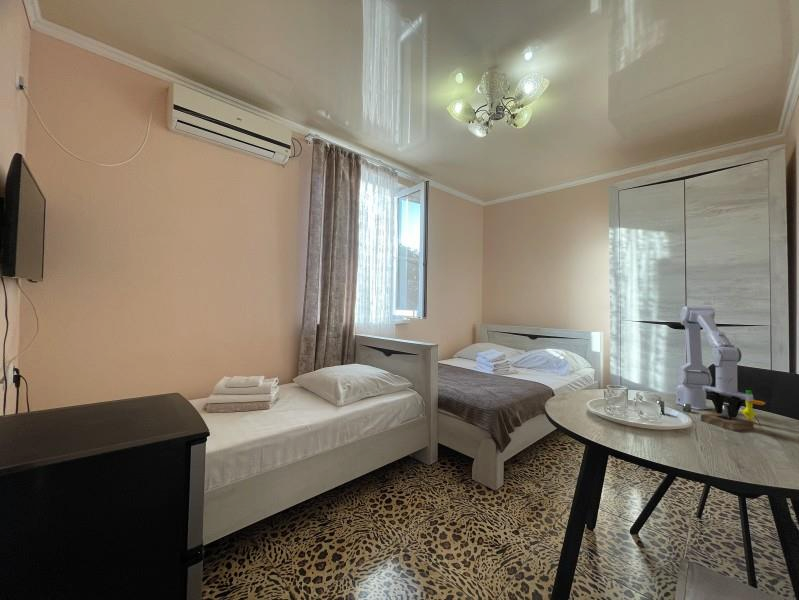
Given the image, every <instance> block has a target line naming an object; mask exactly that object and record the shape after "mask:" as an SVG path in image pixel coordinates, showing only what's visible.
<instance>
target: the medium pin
mask: <svg viewBox="0 0 799 600" xmlns="http://www.w3.org/2000/svg"><path fill="white" fill-rule="evenodd" d="M655 401H656V402H657V403H658V404H660V407H661V412H662V414H661V415H665V401H664V400H659V399H656V400H655ZM656 402H655V403H656Z"/></svg>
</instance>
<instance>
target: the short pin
mask: <svg viewBox="0 0 799 600" xmlns="http://www.w3.org/2000/svg"><path fill="white" fill-rule="evenodd" d="M682 411H683V412H685V413H692V408H691V404H687V403H683V405H682Z"/></svg>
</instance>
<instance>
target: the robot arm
mask: <svg viewBox="0 0 799 600" xmlns="http://www.w3.org/2000/svg"><path fill="white" fill-rule="evenodd" d="M679 314H680V315H679V316H680V317H679V318H680V324H681V325H682V326H684V331H685V347H686V363H685V364H683V365H681V366H680V367H679V368H678V369H679V372H678V380H679V383H680V384H678V385H677V387H676V391H675V393H676V399H675V404H677V405H679V406H683V403H687V404H691V409H694V410H699V411H700V410H701V411H702V410H711V409H713V407H711V406H707V397H709V398H710V400H711V402H712V403H713V406H714V409H715V413H718V414H721V413H722V403H725V402H724V401H725V398H727V399H726V400H727V404H729V408H730V417H732V418H734V417H738V416H737V415H738V413H739V410H740V409H741V407H742V405H744V404H745V403H746V402H745V400H746V401H753V400H754V395H753V394H752V395H753V396H752V395H748V394H745V393H746V392H745V393H744V392H740V391H738V363H740V362H741V360H742V350H741V349H740V347H738V346H735V344H732V343H731V342H730V340H729V338H728V337H727V335H726V334H725V333H724V332H723V331H720V330H719V328H718V326H717V324H716V322H715V317H716V312H715V309H714V308H713V307H712V306H687V305H685V306H683V307H682V308H681V309H680V312H679ZM701 328H702V329H703V330H704V331H705V333H706V335H705V340H706V341H707V343H708V344H709V346H710V348H711V351H712V352H711V357H712V359H713V366H715V386H711V385H712V383H713V377H712V374H711V370H710V369H709V368H708V367H706V366H705V365H704V364H703V357H702V356H703V355H702V353H703V352H702V339H701ZM707 392H709V393H708V395H707Z"/></svg>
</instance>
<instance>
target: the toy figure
mask: <svg viewBox="0 0 799 600" xmlns="http://www.w3.org/2000/svg"><path fill="white" fill-rule="evenodd" d="M745 394H748V395H752V396H753V397H754V395H753V394H754V393H752V390H745ZM744 403H745V407H746V408H744V409H741V408H740V409H739V410H740V411H741V412H742V414H743V415H744V416H745V419H747V420H749V421H753V425H755V424H756V423H757V422H756V421H754V420H752V419H754V418H755V417H756V411H754V409H753V407H754V406H753V405H758V406H763V405H766V402H764V401H761V400H756V399H753V401H746V400H745V402H744Z"/></svg>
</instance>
